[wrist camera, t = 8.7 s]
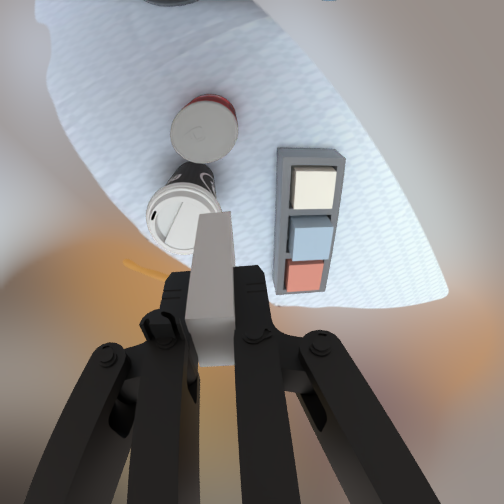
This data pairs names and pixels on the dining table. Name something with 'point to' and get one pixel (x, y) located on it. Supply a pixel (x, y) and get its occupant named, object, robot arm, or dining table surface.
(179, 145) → the canned food
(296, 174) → the key ivory
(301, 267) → the key brick
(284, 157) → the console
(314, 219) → the key blue
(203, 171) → the coffee cup
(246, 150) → the dining table surface
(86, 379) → the robot arm
